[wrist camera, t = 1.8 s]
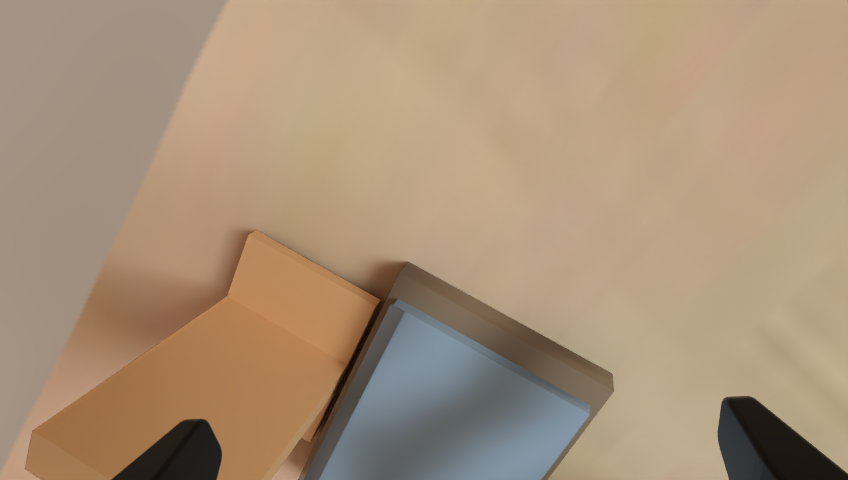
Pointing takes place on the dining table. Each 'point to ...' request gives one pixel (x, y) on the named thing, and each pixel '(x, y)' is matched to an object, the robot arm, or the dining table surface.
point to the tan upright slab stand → (222, 375)
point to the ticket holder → (455, 394)
